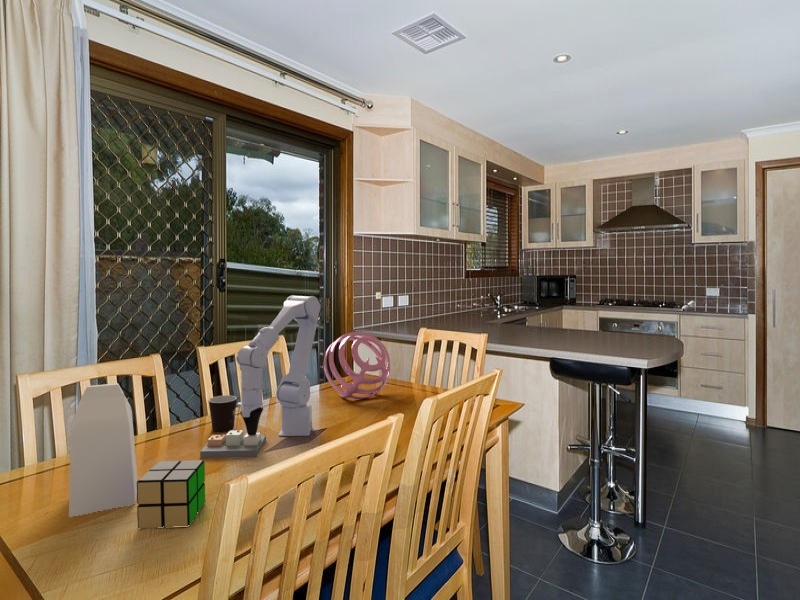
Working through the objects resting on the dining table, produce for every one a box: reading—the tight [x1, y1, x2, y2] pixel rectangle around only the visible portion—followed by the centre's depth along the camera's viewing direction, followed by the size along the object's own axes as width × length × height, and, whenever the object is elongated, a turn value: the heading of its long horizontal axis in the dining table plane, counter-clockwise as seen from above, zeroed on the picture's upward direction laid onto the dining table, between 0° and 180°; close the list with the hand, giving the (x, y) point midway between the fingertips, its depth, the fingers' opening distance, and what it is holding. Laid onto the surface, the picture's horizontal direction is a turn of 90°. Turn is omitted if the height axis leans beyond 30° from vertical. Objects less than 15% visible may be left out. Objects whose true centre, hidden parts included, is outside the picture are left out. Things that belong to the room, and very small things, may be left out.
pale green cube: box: [225, 429, 244, 446], centre depth 132 cm, size 4×4×4 cm
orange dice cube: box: [207, 434, 226, 446], centre depth 132 cm, size 4×4×4 cm
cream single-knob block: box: [244, 431, 262, 446], centre depth 133 cm, size 4×4×4 cm
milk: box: [68, 382, 138, 518], centre depth 102 cm, size 12×12×26 cm
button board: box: [199, 434, 267, 459], centre depth 133 cm, size 15×12×2 cm
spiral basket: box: [323, 331, 391, 400], centre depth 191 cm, size 28×28×27 cm
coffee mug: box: [208, 394, 238, 433], centre depth 151 cm, size 12×9×10 cm
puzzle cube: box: [136, 459, 206, 529], centre depth 96 cm, size 10×10×10 cm
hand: (252, 434), depth 133 cm, fingers closed, pressing on cream single-knob block
